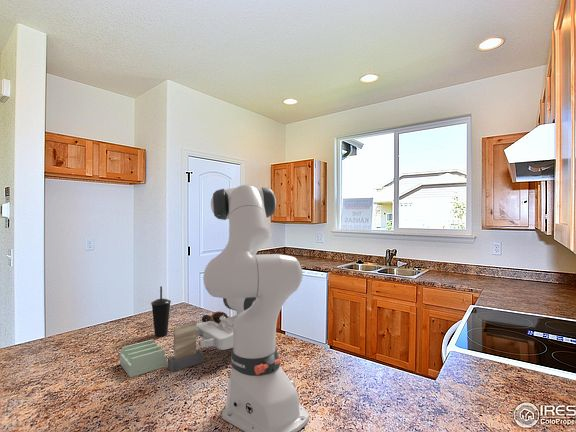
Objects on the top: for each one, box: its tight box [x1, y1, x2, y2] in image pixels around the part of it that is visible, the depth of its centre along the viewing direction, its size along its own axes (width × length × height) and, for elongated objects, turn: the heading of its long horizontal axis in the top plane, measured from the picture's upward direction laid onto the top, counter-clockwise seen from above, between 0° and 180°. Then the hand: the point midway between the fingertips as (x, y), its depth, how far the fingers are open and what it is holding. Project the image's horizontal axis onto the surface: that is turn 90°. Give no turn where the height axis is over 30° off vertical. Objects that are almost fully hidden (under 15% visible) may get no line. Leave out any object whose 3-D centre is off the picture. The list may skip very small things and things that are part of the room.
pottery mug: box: [201, 311, 229, 324], centre depth 137 cm, size 12×10×8 cm
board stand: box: [167, 348, 203, 373], centre depth 104 cm, size 4×10×3 cm, turn 132°
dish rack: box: [119, 338, 168, 378], centre depth 103 cm, size 12×11×6 cm
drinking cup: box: [150, 285, 172, 338], centre depth 130 cm, size 8×8×20 cm
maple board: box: [173, 322, 197, 360], centre depth 104 cm, size 2×7×13 cm, turn 132°
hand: (193, 340), depth 105 cm, fingers open, 8 cm apart
